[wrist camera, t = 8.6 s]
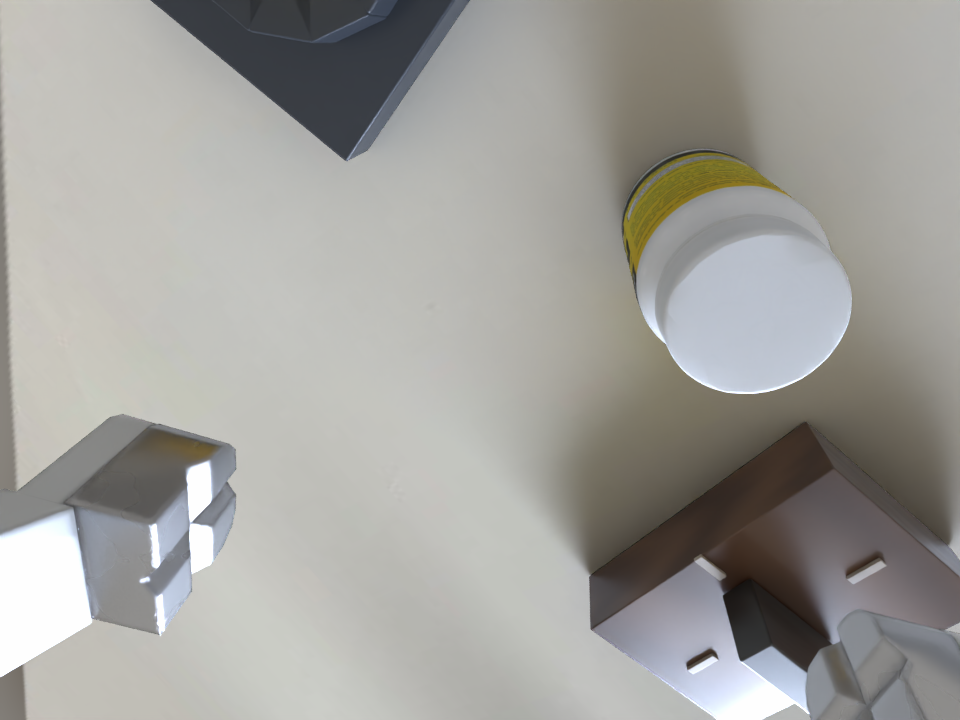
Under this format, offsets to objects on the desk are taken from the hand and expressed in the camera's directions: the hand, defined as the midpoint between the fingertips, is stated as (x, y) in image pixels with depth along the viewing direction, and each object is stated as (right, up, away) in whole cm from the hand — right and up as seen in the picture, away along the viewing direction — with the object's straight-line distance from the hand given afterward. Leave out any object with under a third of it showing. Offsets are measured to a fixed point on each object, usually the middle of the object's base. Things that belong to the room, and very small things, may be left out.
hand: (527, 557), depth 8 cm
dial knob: (+11, -8, +17) cm, 21 cm away
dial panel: (+12, -6, +19) cm, 23 cm away
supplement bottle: (+7, +7, +13) cm, 16 cm away
